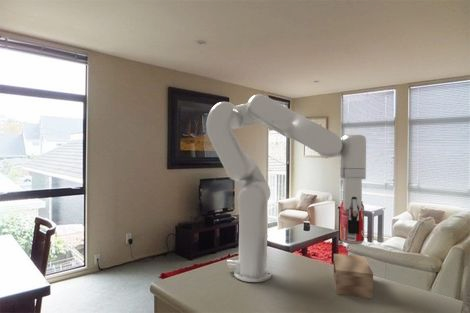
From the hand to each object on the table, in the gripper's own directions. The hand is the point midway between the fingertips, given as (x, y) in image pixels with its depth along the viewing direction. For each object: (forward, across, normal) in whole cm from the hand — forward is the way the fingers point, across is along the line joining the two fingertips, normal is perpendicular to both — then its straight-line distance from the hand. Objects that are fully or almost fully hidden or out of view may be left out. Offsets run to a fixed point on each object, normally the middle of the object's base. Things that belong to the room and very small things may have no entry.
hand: (352, 230), depth 98 cm
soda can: (+4, 0, 0) cm, 4 cm away
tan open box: (+17, 0, 0) cm, 17 cm away
